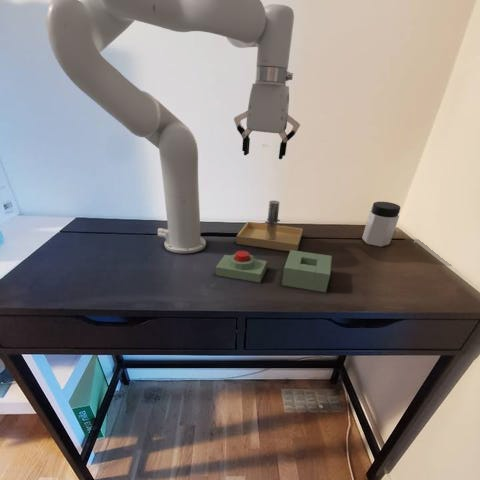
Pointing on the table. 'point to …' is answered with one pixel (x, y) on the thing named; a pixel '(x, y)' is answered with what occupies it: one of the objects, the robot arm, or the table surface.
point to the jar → (381, 223)
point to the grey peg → (272, 220)
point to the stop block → (241, 268)
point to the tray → (257, 237)
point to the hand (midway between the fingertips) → (263, 156)
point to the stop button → (242, 256)
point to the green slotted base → (307, 271)
